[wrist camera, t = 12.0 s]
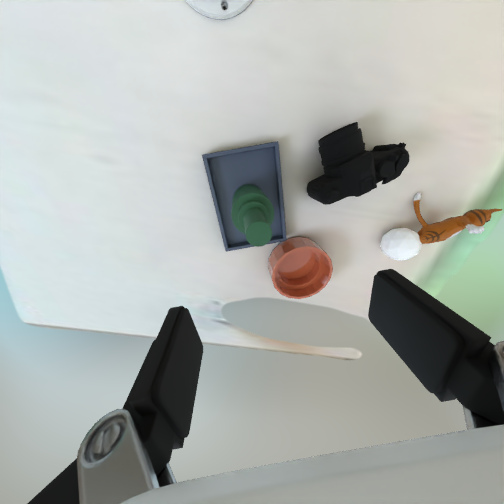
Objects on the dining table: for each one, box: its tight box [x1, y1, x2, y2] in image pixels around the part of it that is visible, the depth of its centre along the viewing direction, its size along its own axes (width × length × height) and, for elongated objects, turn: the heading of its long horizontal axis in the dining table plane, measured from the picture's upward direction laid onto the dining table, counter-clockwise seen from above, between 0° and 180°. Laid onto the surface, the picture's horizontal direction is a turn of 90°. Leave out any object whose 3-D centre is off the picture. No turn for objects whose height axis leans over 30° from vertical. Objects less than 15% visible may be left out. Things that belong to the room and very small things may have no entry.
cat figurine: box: [380, 192, 502, 260], centre depth 37 cm, size 13×12×18 cm
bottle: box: [231, 184, 274, 246], centre depth 28 cm, size 6×6×18 cm
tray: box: [202, 141, 287, 251], centre depth 35 cm, size 17×12×2 cm
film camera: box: [307, 122, 409, 204], centre depth 30 cm, size 15×10×9 cm, turn 116°
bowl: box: [268, 237, 333, 299], centre depth 40 cm, size 12×12×6 cm
